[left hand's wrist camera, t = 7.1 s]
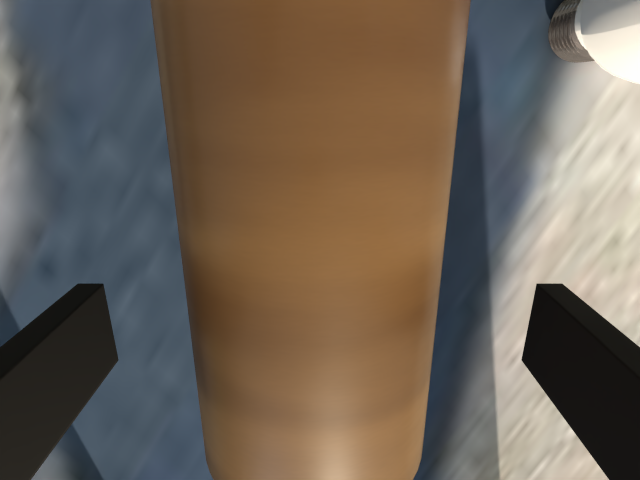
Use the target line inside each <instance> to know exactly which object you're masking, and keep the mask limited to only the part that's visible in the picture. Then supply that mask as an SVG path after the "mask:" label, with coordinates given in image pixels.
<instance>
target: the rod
mask: <svg viewBox="0 0 640 480" xmlns="http://www.w3.org/2000/svg"><path fill="white" fill-rule="evenodd" d="M470 1H471V0H151V8H152V16H153V25H154V33H155V41H156V50H157V58H158V66H159V74H160V83H161V91H162V99H163V107H164V116H165V124H166V132H167V140H168V149H169V157H170V165H171V174H172V182H173V190H174V198H175V207H176V215H177V223H178V231H179V240H180V248H181V256H182V264H183V273H184V281H185V289H186V297H187V306H188V314H189V322H190V331H191V339H192V347H193V355H194V364H195V372H196V380H197V388H198V397H199V405H200V413H201V421H202V430H203V438H204V446H205V454H206V461H207V465H208V468H209V471H210V474H211V476H212V478H213V480H413V478H414V476H415V474H416V472H417V470H418V467H419V464H420V461H421V456H422V448H423V438H424V429H425V420H426V410H427V401H428V392H429V382H430V373H431V364H432V355H433V345H434V336H435V327H436V317H437V308H438V299H439V289H440V280H441V271H442V261H443V252H444V243H445V233H446V224H447V215H448V206H449V196H450V187H451V178H452V168H453V159H454V150H455V140H456V131H457V122H458V112H459V103H460V94H461V84H462V75H463V66H464V57H465V47H466V38H467V29H468V19H469V10H470Z"/></svg>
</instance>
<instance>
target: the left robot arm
mask: <svg viewBox="0 0 640 480" xmlns="http://www.w3.org/2000/svg"><path fill="white" fill-rule="evenodd" d="M117 361H118V356H117V351H116V346H115V340H114V335H113V330H112V325H111V320H110V315H109V310H108V305H107V300H106V295H105V290H104V285H103V284H77V285H76V286H75V287H73V288H72V289H71V290H70V291H68V292H67V293H66V294H65V295H64V296H62V297H61V298H60V299H59V300H57V301H56V302H55V303H54V304H53V305H51V306H50V307H49V308H48V309H46V310H45V311H44V312H43V313H42V314H40V315H39V316H38V317H37V318H36V319H34V320H33V321H32V322H31V323H29V324H28V325H27V326H26V327H25V328H23V329H22V330H21V331H20V332H18V333H17V334H16V335H15V336H14V337H12V338H11V339H10V340H9V341H7V342H6V343H5V344H4V345H3V346H1V347H0V480H31V479H32V477H33V476H34V475H35V473H36V472H37V470H38V469H39V468H40V466H41V465H42V464H43V462H44V461H45V460H46V458H47V457H48V455H49V454H50V453H51V451H52V450H53V449H54V447H55V446H56V445H57V443H58V442H59V440H60V439H61V438H62V436H63V435H64V434H65V432H66V431H67V430H68V428H69V427H70V425H71V424H72V423H73V421H74V420H75V419H76V417H77V416H78V415H79V413H80V412H81V410H82V409H83V408H84V406H85V405H86V404H87V402H88V401H89V400H90V398H91V397H92V395H93V394H94V393H95V391H96V390H97V389H98V387H99V386H100V385H101V383H102V382H103V380H104V379H105V378H106V376H107V375H108V374H109V372H110V371H111V370H112V368H113V367H114V365H115V364H116V363H117ZM522 361H523V363H524V364H525V365H526V367H527V368H528V370H529V371H530V372H531V374H532V375H533V376H534V378H535V379H536V380H537V382H538V383H539V385H540V386H541V387H542V389H543V390H544V391H545V393H546V394H547V395H548V397H549V398H550V400H551V401H552V402H553V404H554V405H555V406H556V408H557V409H558V410H559V412H560V413H561V415H562V416H563V417H564V419H565V420H566V421H567V423H568V424H569V425H570V427H571V428H572V430H573V431H574V432H575V434H576V435H577V436H578V438H579V439H580V440H581V442H582V443H583V445H584V446H585V447H586V449H587V450H588V451H589V453H590V454H591V455H592V457H593V458H594V460H595V461H596V462H597V464H598V465H599V466H600V468H601V469H602V470H603V472H604V473H605V475H606V476H607V477H608V479H609V480H640V347H639V346H637V345H636V344H635V343H634V342H633V341H631V340H630V339H629V338H628V337H626V336H625V335H624V334H623V333H622V332H620V331H619V330H618V329H617V328H615V327H614V326H613V325H612V324H611V323H609V322H608V321H607V320H606V319H604V318H603V317H602V316H601V315H600V314H598V313H597V312H596V311H595V310H594V309H592V308H591V307H590V306H589V305H587V304H586V303H585V302H584V301H583V300H581V299H580V298H579V297H578V296H576V295H575V294H574V293H573V292H572V291H570V290H569V289H568V288H567V287H565V286H564V285H563V284H537V285H536V290H535V295H534V300H533V305H532V310H531V315H530V320H529V325H528V330H527V335H526V340H525V346H524V351H523V356H522Z"/></svg>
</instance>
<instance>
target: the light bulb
mask: <svg viewBox="0 0 640 480" xmlns="http://www.w3.org/2000/svg"><path fill="white" fill-rule="evenodd" d="M549 42H550V45H551V48H552V50H553V51H554V52H555V54H556V55H557V56H559V57H560V58H562V59H563V60H566V61H570V62H587V61H596V62H597V64H598V65H599V66H601V67H602V68H603V69H604V70H606V71H607V72H609V73H610V74H612V75H614V76H616V77H619V78H621V79H624V80H627V81H630V82H633V83H638V84H640V0H565V1H563V2H562V4H561V5H560V6H559V7H558V9H557V10H556V11H555V13H554V15H553V17H552V19H551V22H550V26H549Z"/></svg>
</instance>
